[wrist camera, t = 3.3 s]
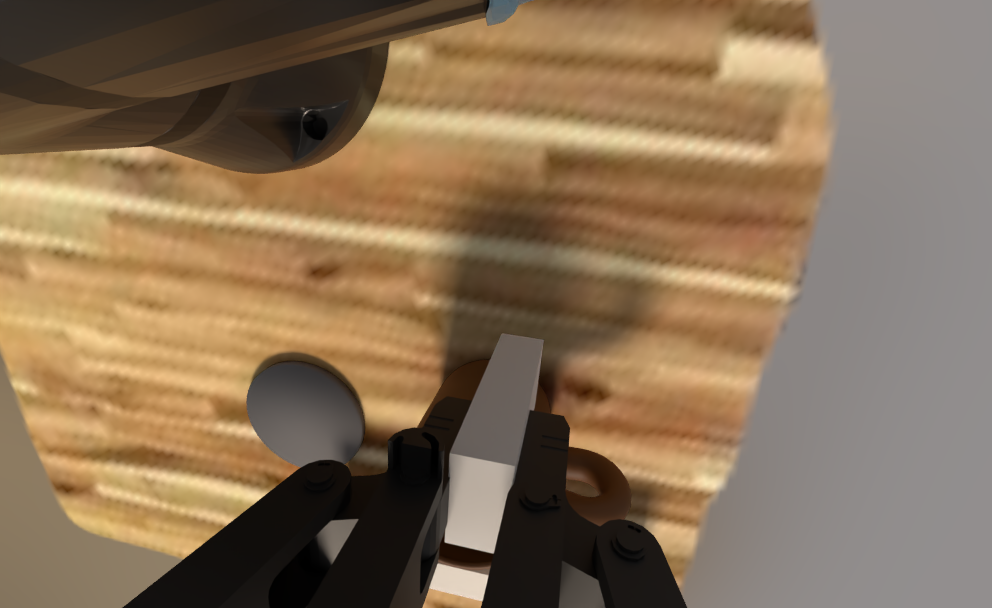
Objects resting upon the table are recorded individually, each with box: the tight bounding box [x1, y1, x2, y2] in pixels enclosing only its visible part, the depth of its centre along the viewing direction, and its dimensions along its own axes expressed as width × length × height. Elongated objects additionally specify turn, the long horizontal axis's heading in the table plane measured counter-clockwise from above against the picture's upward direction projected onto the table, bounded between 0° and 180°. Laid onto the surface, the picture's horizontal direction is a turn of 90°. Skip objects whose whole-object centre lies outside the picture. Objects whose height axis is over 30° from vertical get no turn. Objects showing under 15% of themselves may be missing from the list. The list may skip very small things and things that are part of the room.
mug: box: [417, 360, 631, 570], centre depth 26 cm, size 12×8×9 cm, turn 92°
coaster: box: [247, 361, 365, 467], centre depth 34 cm, size 9×9×1 cm
